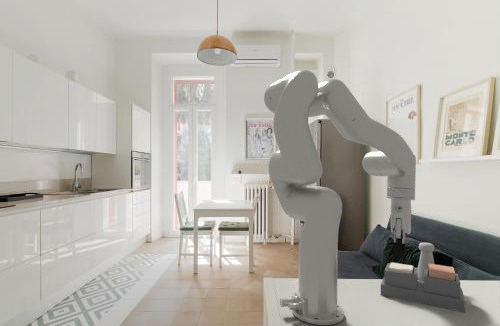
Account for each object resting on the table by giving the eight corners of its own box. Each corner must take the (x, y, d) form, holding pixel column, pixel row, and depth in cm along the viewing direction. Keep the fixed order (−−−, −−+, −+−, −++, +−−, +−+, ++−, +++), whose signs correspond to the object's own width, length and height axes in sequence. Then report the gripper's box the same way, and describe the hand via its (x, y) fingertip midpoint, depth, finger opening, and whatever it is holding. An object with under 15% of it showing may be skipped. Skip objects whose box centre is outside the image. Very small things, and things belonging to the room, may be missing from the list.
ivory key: (389, 279, 88) (389, 267, 88) (391, 273, 93) (391, 262, 93) (412, 283, 85) (412, 271, 85) (413, 277, 90) (413, 265, 90)
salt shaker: (440, 288, 93) (440, 245, 93) (420, 286, 94) (420, 244, 95) (432, 281, 99) (432, 241, 99) (413, 279, 100) (413, 240, 100)
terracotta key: (428, 281, 83) (428, 269, 83) (428, 275, 88) (428, 263, 88) (455, 286, 80) (454, 273, 80) (453, 279, 85) (453, 267, 85)
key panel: (380, 294, 87) (380, 270, 87) (384, 284, 96) (385, 261, 96) (465, 312, 77) (464, 284, 77) (461, 298, 85) (461, 273, 86)
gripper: (414, 195, 81) (412, 264, 80) (415, 194, 94) (414, 253, 93) (383, 193, 85) (381, 259, 84) (389, 192, 98) (388, 249, 97)
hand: (399, 256), depth 89 cm, fingers closed
